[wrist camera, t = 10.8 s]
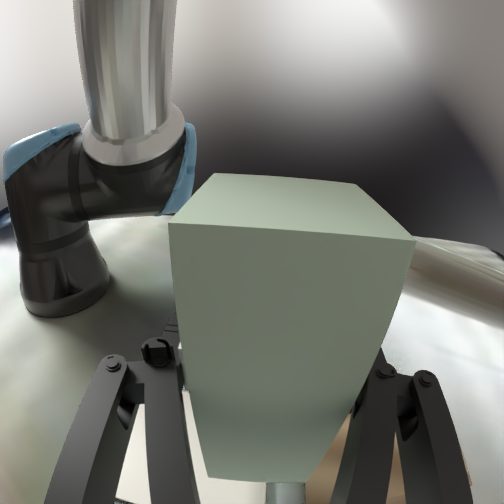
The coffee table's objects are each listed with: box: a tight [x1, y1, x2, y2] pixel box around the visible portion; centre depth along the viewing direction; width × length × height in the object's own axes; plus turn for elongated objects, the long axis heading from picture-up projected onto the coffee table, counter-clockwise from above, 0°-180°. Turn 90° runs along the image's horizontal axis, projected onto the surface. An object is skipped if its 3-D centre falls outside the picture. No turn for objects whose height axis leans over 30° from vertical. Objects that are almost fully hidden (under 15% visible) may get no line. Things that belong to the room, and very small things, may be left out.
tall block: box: [168, 173, 416, 483], centre depth 13 cm, size 6×6×16 cm
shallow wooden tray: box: [305, 414, 472, 504], centre depth 18 cm, size 12×13×2 cm
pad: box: [115, 391, 266, 504], centre depth 19 cm, size 12×12×1 cm
